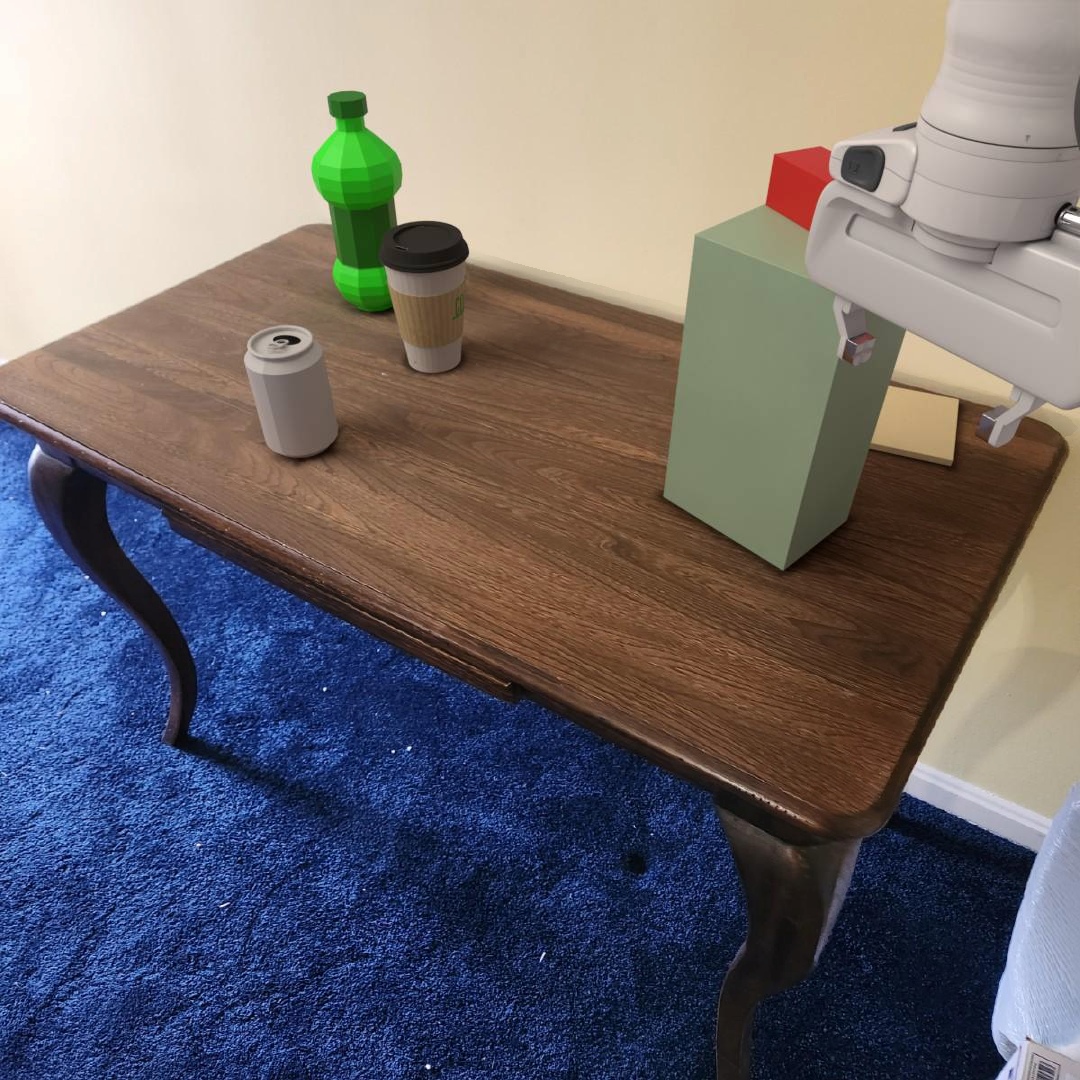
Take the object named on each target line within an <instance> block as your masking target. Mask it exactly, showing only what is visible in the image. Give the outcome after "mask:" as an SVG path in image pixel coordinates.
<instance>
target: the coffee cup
mask: <svg viewBox="0 0 1080 1080" xmlns="http://www.w3.org/2000/svg"><path fill="white" fill-rule="evenodd" d="M469 256H470V247H469V245H468V242H467V241H466V239H465V238H464V235H463V233H462V231H461V230H460V228H459V227H457V226H455V225H453V224H452V223H448V222H444V221H437V220H416V221H409V222H404V223H401V224H397V226H395V227H393V228H391V229H390V230H388V231H387V232H386V233H385V234H384V236H383V242H382V245H381V247H380V249H379V259H380V262H381V263H382V264H383V265H385V269H386V273H387V277H388V279H387V284H388V287H389V291H390V295H391V299H392V303H393V306H392V307H393V310H394V314H395V319H396V323H397V326H398V329H399V330H398V331H399V335H400V337H401V339H402V341H403V345H404V348H405V352H406V357H407V361H408V364H409V365H410V367H411V368H413V369H414V370H416V371H418V372H422V373H427V374H438V373H444V372H448V371H450V370H452V369H454V368H456V367H457V366H458V365H459V363H460V362H461V359H462V341H463V339H462V337H463V333H464V322H465V303H466V301H465V300H466V283H467V277H466V261H467V259H468V258H469Z"/></svg>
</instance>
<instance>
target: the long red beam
mask: <svg viewBox="0 0 1080 1080" xmlns="http://www.w3.org/2000/svg"><path fill="white" fill-rule="evenodd" d="M831 152H832V150H830V149H828V148H826V147H824V146H822V145H820V146H819V145H818V146H812V147H807V148H802V149H801V148H800V149H796V150H789V151H783V152H778V153H777V152H776V153H774V154H773V158H772V164H771V169H770V175H769V180H768V181H769V182H768V187H767V191H766V192H767V193H766V198H765V203H764V204H765V205H766V206H768V207H770V208H771V209H773V210H775V211H776V212H778V213H780V214H781V215H783V216H785V217H786V218H788V219H790V220H791V221H793V222H795V223H796V224H798V225H800V226H801V227H803V228H805V229H806V230H808V231H810V228H811V224H812V220H813V216H814V213H815V209H816V206H817V203H818V200H819V197H820V195H821V193H822V191H823V190H824V188H825V187H826V186H827V185H828V184H829V183H830V182H832V181H833V180H835V179H834V178H833V177H832V176H831V175H830V172H829V162H830V156H831Z"/></svg>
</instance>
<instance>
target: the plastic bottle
mask: <svg viewBox="0 0 1080 1080" xmlns="http://www.w3.org/2000/svg"><path fill="white" fill-rule="evenodd" d="M326 98H327V105H328V111H329V115H330V116H331V117H332V118H334V120H335V126H336V129H335V130H334V131H333V132H332V133H331V134H330V135H329V137H328V138H327V139H326V140H325V141H324V142H323V143H322V145H321V146H320V147H319V148H318V149H317V151H316V152H315V153H314V155H313V156H312V160H311V166H310V170H311V176H312V180H313V183H314V185H315V188H316V191H317V192H318V194H319V195H320V196H321V197H322V199H323V200H325V201H326V202H327V203H328V211H329V215H330V222H331V227H332V228H331V229H332V234H333V239H334V245H335V252H336V259H335V260H334V261H335V262H334V264H333V268H332V279H333V283H334V284H335V286H336V288H337V289H338V290H339V292H340V294H341V295H342V297H343V298H344V299H345V300H346V301H347V302H348V303H350V304H351V305H353V306H355V307H357V308H358V309H359V310H362V311H366V312H368V313H369V312H370V313H371V312H382V311H386V310H388V309H389V308H392V307H393V303H392V299H391V295H390V291H389V287H388V284H387V279H388V277H387V273H386V269H385V265H383V264H382V263H381V262H380V259H379V249H380V247H381V245H382V242H383V236H384V234H385V233H386V232H387V231H388V230H390V229H391V228H393V227H395V226H398V219H397V210H396V202H395V201H396V200H395V196H396V194H397V193H398V192H399V190H400V189H401V187H402V185H403V167H402V162H401V160H400V158H399V156H398V154H397V152H396V151H395V150H394V149H393V148H392V147H391V146H390V145H389V144H388V143H386V142H385V141H384V140H383V139H382V138H381V137H379V135H377V134H376V133H375V132H374V131H372V130H371V129H369V128H367V127H366V123H365V116H366V115H367V114H368V113H369V109H368V101H367V95H366V94H365V93H364V92H363V91H357V90H340V91H336V92H332V93H331V92H330V94H328V95H327V96H326Z"/></svg>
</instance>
